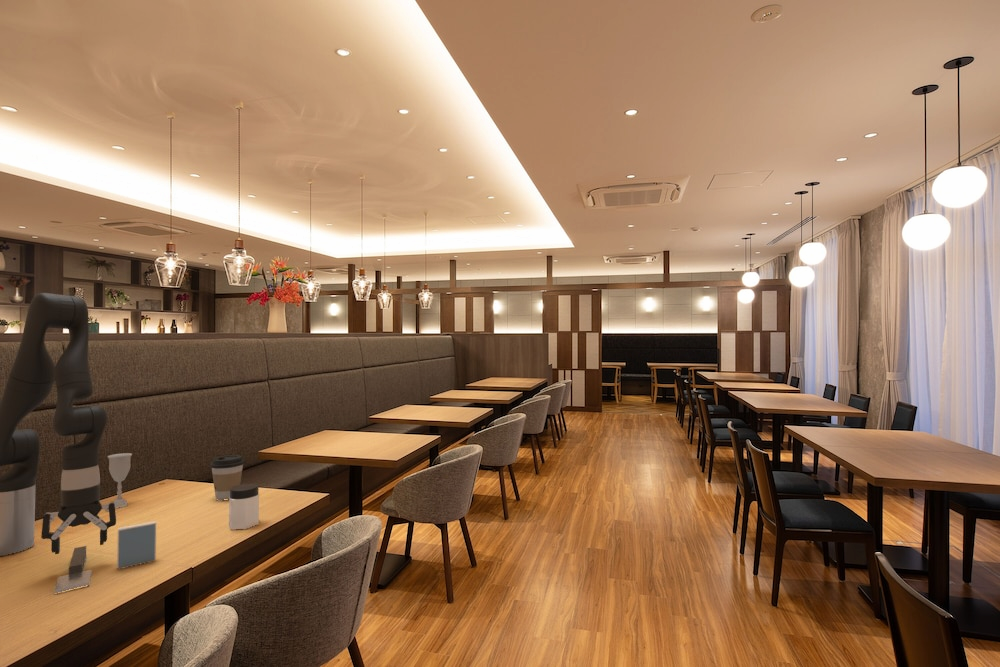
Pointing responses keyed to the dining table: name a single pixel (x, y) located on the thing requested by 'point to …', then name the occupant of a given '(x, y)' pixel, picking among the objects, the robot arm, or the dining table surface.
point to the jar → (243, 506)
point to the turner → (75, 572)
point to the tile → (136, 544)
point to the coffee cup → (226, 474)
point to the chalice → (119, 473)
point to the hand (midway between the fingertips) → (80, 548)
